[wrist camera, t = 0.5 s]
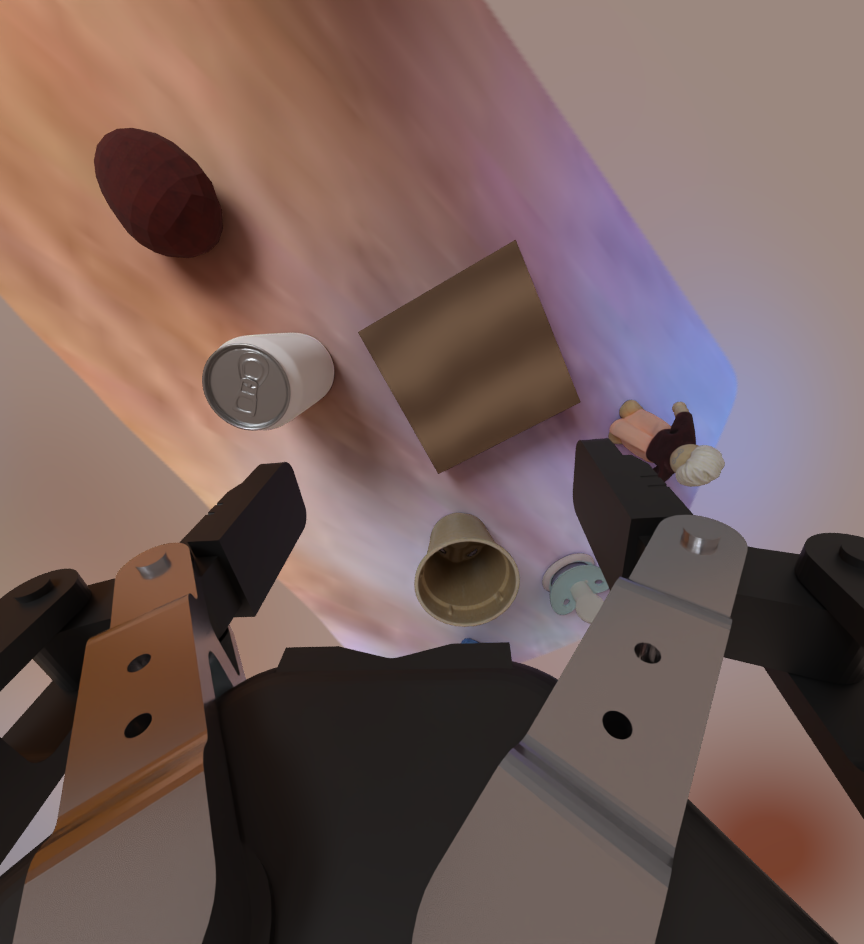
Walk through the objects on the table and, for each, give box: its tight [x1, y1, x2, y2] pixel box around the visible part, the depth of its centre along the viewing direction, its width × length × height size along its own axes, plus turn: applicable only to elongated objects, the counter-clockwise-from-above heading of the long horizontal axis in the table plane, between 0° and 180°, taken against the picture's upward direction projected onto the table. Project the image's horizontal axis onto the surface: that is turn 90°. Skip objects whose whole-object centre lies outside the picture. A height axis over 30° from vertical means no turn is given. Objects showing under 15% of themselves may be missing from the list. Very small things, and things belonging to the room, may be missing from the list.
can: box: [202, 333, 334, 430], centre depth 31 cm, size 6×6×12 cm
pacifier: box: [542, 553, 609, 623], centre depth 43 cm, size 7×6×6 cm
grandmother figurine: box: [609, 400, 725, 487], centre depth 33 cm, size 8×4×13 cm, turn 173°
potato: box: [94, 128, 223, 258], centre depth 29 cm, size 7×8×7 cm
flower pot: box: [414, 513, 520, 627], centre depth 39 cm, size 9×9×9 cm
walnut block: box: [358, 240, 580, 474], centre depth 35 cm, size 14×14×4 cm
